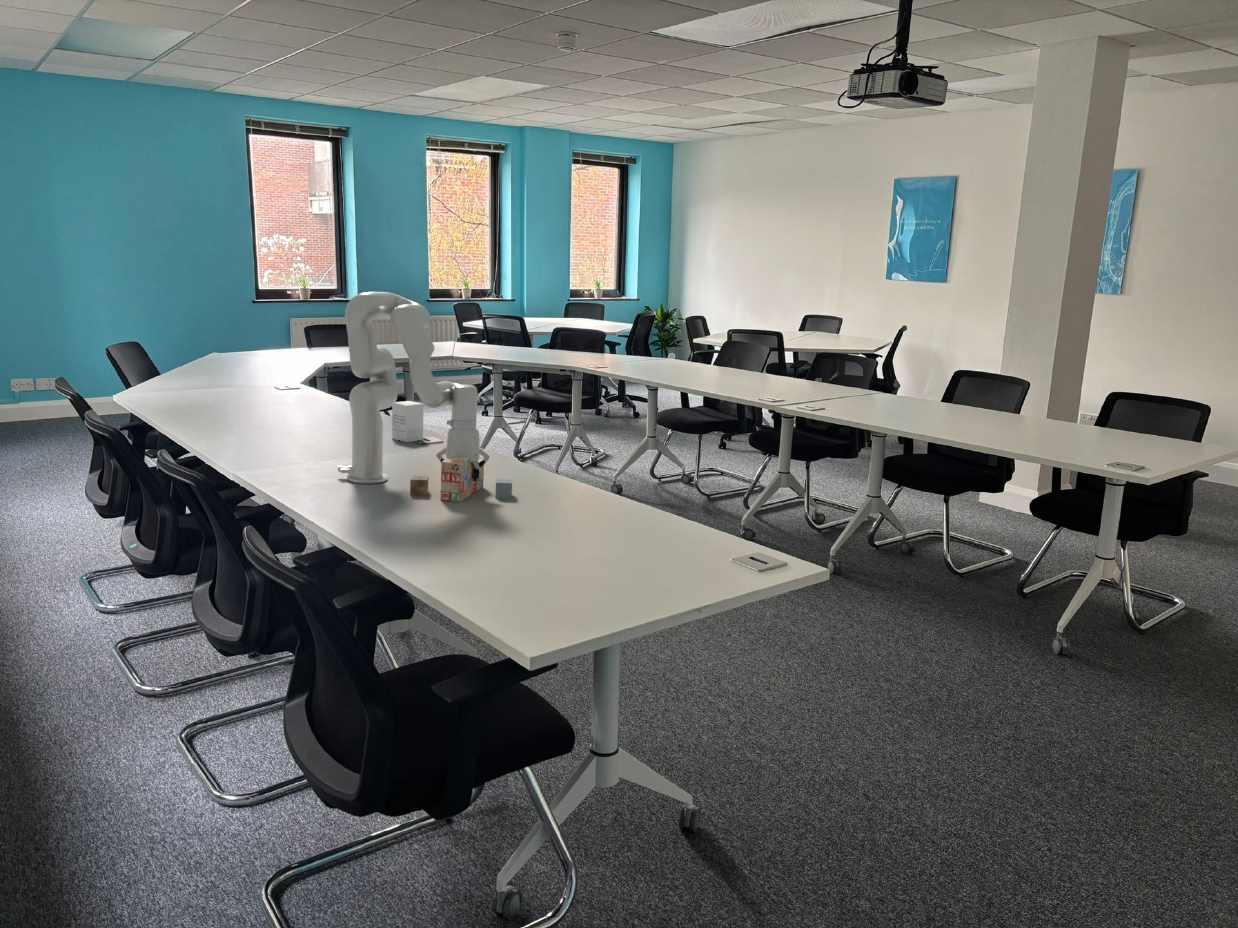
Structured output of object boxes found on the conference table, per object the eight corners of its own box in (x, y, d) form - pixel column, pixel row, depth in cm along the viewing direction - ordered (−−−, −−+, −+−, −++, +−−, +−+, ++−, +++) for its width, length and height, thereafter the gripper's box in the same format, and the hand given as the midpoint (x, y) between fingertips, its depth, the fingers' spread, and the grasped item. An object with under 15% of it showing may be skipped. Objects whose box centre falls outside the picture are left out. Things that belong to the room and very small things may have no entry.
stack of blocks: (465, 485, 288) (466, 448, 286) (483, 487, 287) (485, 450, 285) (440, 500, 268) (441, 460, 265) (459, 502, 267) (460, 463, 264)
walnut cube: (410, 495, 272) (410, 479, 270) (411, 491, 276) (412, 475, 275) (426, 495, 272) (427, 480, 271) (428, 491, 277) (428, 476, 276)
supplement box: (408, 436, 360) (409, 400, 357) (423, 440, 355) (424, 403, 352) (390, 439, 353) (391, 402, 350) (406, 442, 348) (406, 405, 345)
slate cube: (495, 498, 275) (495, 482, 274) (495, 494, 280) (496, 478, 279) (511, 498, 276) (512, 483, 274) (511, 494, 280) (512, 479, 279)
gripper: (434, 425, 267) (432, 482, 271) (492, 428, 270) (490, 484, 273) (436, 421, 275) (435, 476, 278) (492, 424, 277) (490, 478, 281)
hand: (462, 480), depth 276 cm, fingers closed on stack of blocks, 7 cm apart
